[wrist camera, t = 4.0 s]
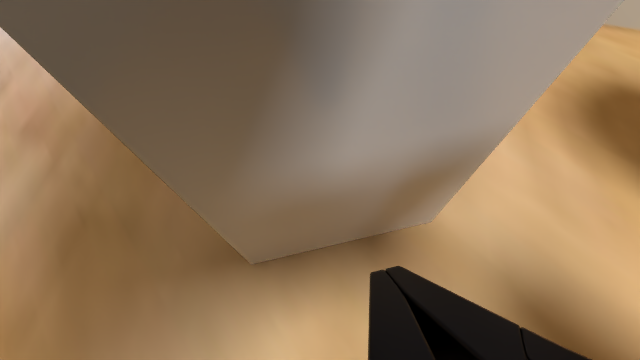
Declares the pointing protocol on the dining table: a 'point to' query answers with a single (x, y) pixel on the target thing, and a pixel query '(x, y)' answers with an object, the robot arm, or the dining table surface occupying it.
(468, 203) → the dining table surface
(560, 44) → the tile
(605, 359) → the dining table surface
